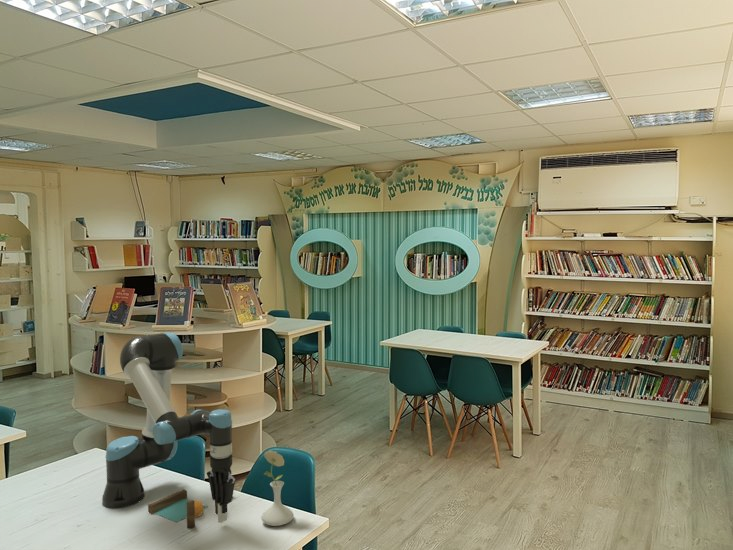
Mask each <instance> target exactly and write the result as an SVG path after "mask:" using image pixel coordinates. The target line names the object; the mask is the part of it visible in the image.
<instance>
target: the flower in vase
mask: <svg viewBox="0 0 733 550" xmlns="http://www.w3.org/2000/svg"><path fill="white" fill-rule="evenodd" d="M263 457H264V458H265V460H266V461H267V462H268V463H269V464H271V467H270V472H269V471H265V472H264V473H263V475H264V476H267V477H269V478H272V480H273V481H271V482H270V483H269V486H270V487H271V488H272V491H273V498H274V499H273V503H272V505H270V506H269V507H268V508H267V509H265V511H264V512H263V513H262V515H261V521H262V522H263V523H264V524H265V525H268V526H273V527H274V526H275V527H277V526H279V527H280V526H283V525H287V524H289V523H290V522H292V520H293V519H294V512H293V511H292V510H291V509H290V507H288V506H285V505H284V504H283V503H282V499H281V494H282V493H281V492H282V488H283V486H285V482H284V481H282V480H280V479H282V478H283V475H284V474H279V475H277V477H276V478H275V477H274V475H273V466H274V467H282V466H285V459H284V458H283V457H284V456H283V455H281V454H280V453H278V452H277V451H273V450H270V449H269V450H268V451H265V452H264V456H263Z"/></svg>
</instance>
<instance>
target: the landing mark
mask: <svg viewBox="0 0 733 550" xmlns="http://www.w3.org/2000/svg"><path fill="white" fill-rule="evenodd" d="M189 500H190V499H188V498H185V499H182V500H180V501H178V502H176V503H174V504H171V505H169V506H167V507H165V508H162V509H160V510H158V511H156V512H154V513H153V514H155V513H156V514H155V515H158V514H159V515H158V516H160V515H161V516H160V517H162V516H164V517H163V518H165V517H166V518H165V519H167V518H168V519H167V520H170V521H172V520H173V522H174V523H178V522H180V520H181V521H183V520H184V518H185V519H187V501H189ZM203 506H204V509H203V510H205V509H207V508H208V505H204V504H203ZM182 519H183V520H182Z"/></svg>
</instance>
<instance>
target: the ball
mask: <svg viewBox="0 0 733 550" xmlns="http://www.w3.org/2000/svg"><path fill="white" fill-rule="evenodd" d="M194 504H195V518H197V517H199V516H201V515H202V514H203V511H204V510H205V509H204V506H205V505H204V504H203V502H202V501H200V500H194ZM203 505H204V506H203Z"/></svg>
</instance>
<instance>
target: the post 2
mask: <svg viewBox="0 0 733 550" xmlns="http://www.w3.org/2000/svg"><path fill="white" fill-rule="evenodd" d="M214 512H215V513H216V514H215V515H218V511H217V503H216V501H215V500H214Z"/></svg>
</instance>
